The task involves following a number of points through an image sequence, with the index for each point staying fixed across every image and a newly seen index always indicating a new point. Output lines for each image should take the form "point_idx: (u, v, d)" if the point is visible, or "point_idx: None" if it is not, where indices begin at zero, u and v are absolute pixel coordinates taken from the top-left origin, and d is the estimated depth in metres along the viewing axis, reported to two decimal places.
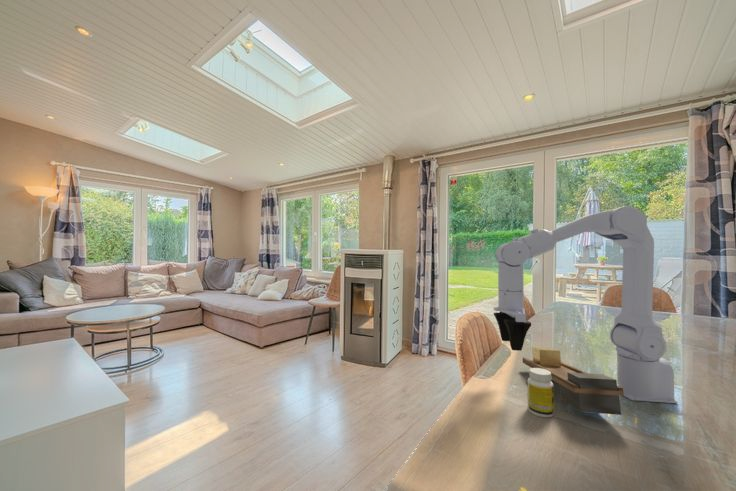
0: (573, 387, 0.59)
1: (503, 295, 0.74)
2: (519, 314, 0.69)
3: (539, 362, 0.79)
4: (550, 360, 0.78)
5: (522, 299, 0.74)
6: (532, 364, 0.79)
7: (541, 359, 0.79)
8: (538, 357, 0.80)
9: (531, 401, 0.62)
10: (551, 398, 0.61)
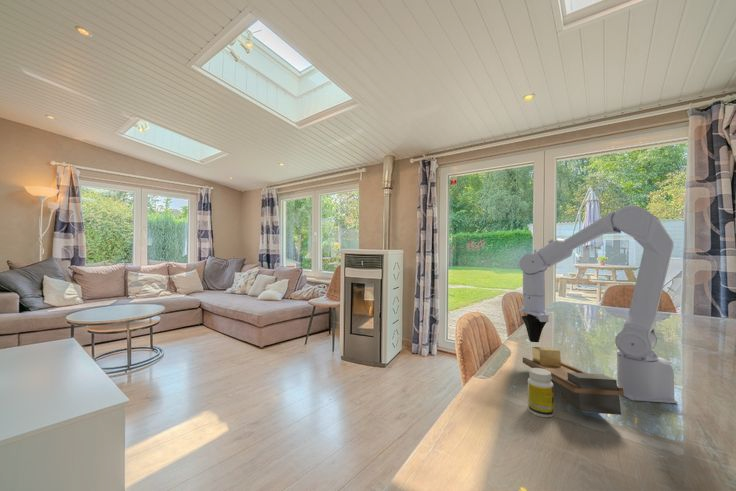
0: (573, 387, 0.59)
1: (527, 299, 0.88)
2: (543, 315, 0.82)
3: (539, 362, 0.79)
4: (550, 360, 0.78)
5: (544, 302, 0.87)
6: (532, 364, 0.79)
7: (541, 359, 0.79)
8: (538, 357, 0.80)
9: (531, 401, 0.62)
10: (551, 398, 0.61)
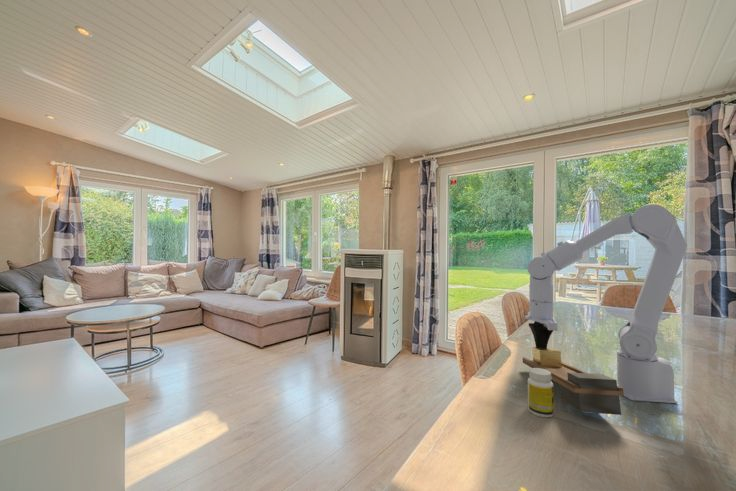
0: (573, 387, 0.59)
1: (535, 305, 0.83)
2: (551, 323, 0.77)
3: (539, 362, 0.79)
4: (550, 361, 0.78)
5: (552, 309, 0.82)
6: (532, 364, 0.79)
7: (541, 359, 0.78)
8: (538, 357, 0.79)
9: (531, 401, 0.62)
10: (551, 398, 0.61)
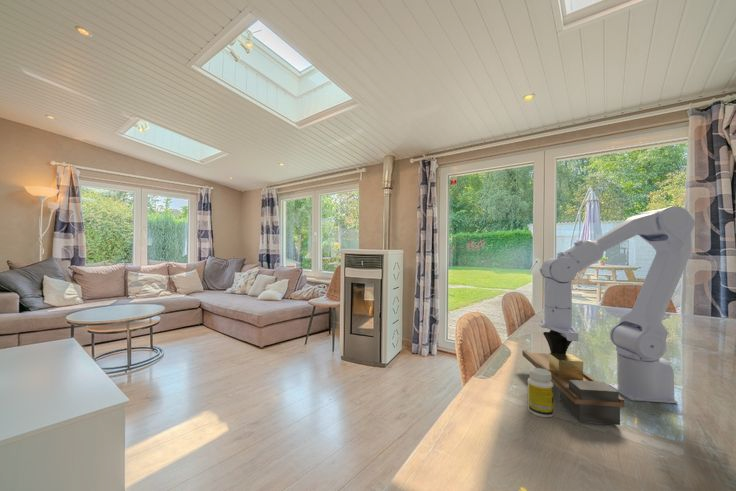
0: (574, 398, 0.59)
1: (551, 312, 0.73)
2: (571, 333, 0.67)
3: (558, 373, 0.69)
4: (570, 372, 0.68)
5: (571, 316, 0.72)
6: (532, 360, 0.79)
7: (560, 370, 0.69)
8: (557, 367, 0.69)
9: (531, 401, 0.62)
10: (551, 398, 0.61)
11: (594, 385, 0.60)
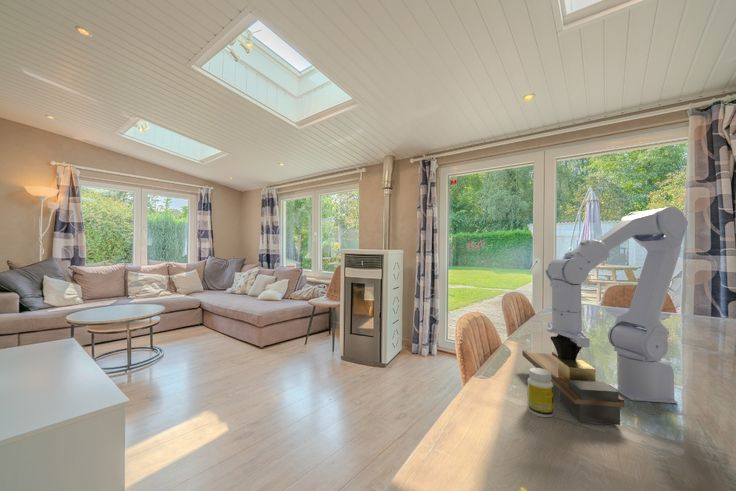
0: (574, 398, 0.59)
1: (559, 316, 0.69)
2: (582, 338, 0.63)
3: (568, 382, 0.65)
4: (582, 380, 0.64)
5: (580, 320, 0.68)
6: (532, 360, 0.79)
7: (571, 379, 0.64)
8: (567, 375, 0.65)
9: (531, 401, 0.62)
10: (551, 398, 0.61)
11: (594, 385, 0.60)
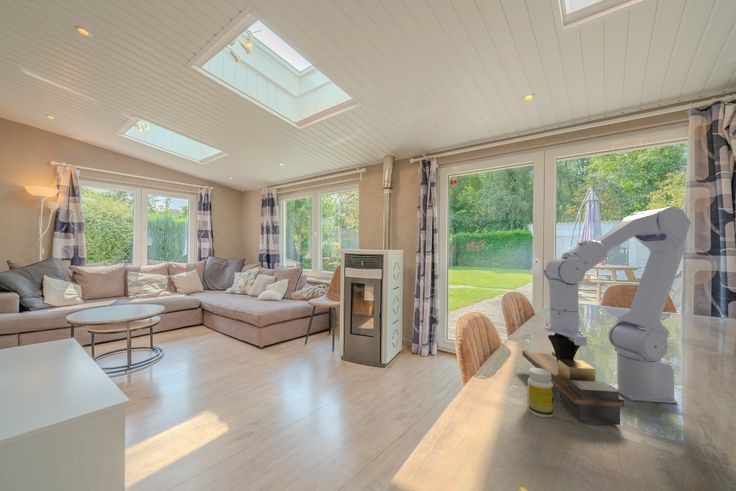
0: (574, 398, 0.59)
1: (557, 315, 0.70)
2: (579, 337, 0.64)
3: (568, 382, 0.65)
4: (582, 380, 0.64)
5: (578, 319, 0.69)
6: (532, 360, 0.79)
7: (571, 379, 0.64)
8: (567, 375, 0.65)
9: (531, 401, 0.62)
10: (551, 398, 0.61)
11: (594, 385, 0.60)
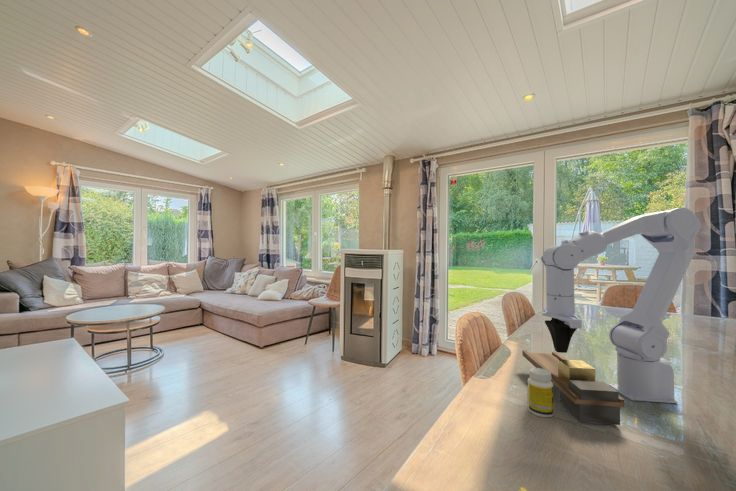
0: (574, 398, 0.59)
1: (553, 300, 0.72)
2: (574, 320, 0.66)
3: (568, 382, 0.65)
4: (582, 380, 0.64)
5: (573, 304, 0.71)
6: (532, 360, 0.79)
7: (571, 379, 0.64)
8: (567, 375, 0.65)
9: (531, 401, 0.62)
10: (551, 398, 0.61)
11: (594, 385, 0.60)
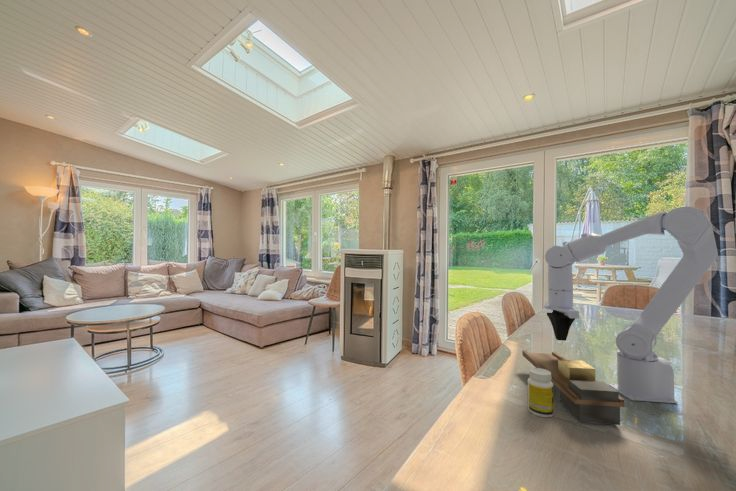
0: (574, 398, 0.59)
1: (554, 294, 0.82)
2: (572, 311, 0.76)
3: (568, 382, 0.65)
4: (582, 380, 0.64)
5: (572, 298, 0.81)
6: (532, 360, 0.79)
7: (571, 379, 0.64)
8: (567, 375, 0.65)
9: (531, 401, 0.62)
10: (551, 398, 0.61)
11: (594, 385, 0.60)
